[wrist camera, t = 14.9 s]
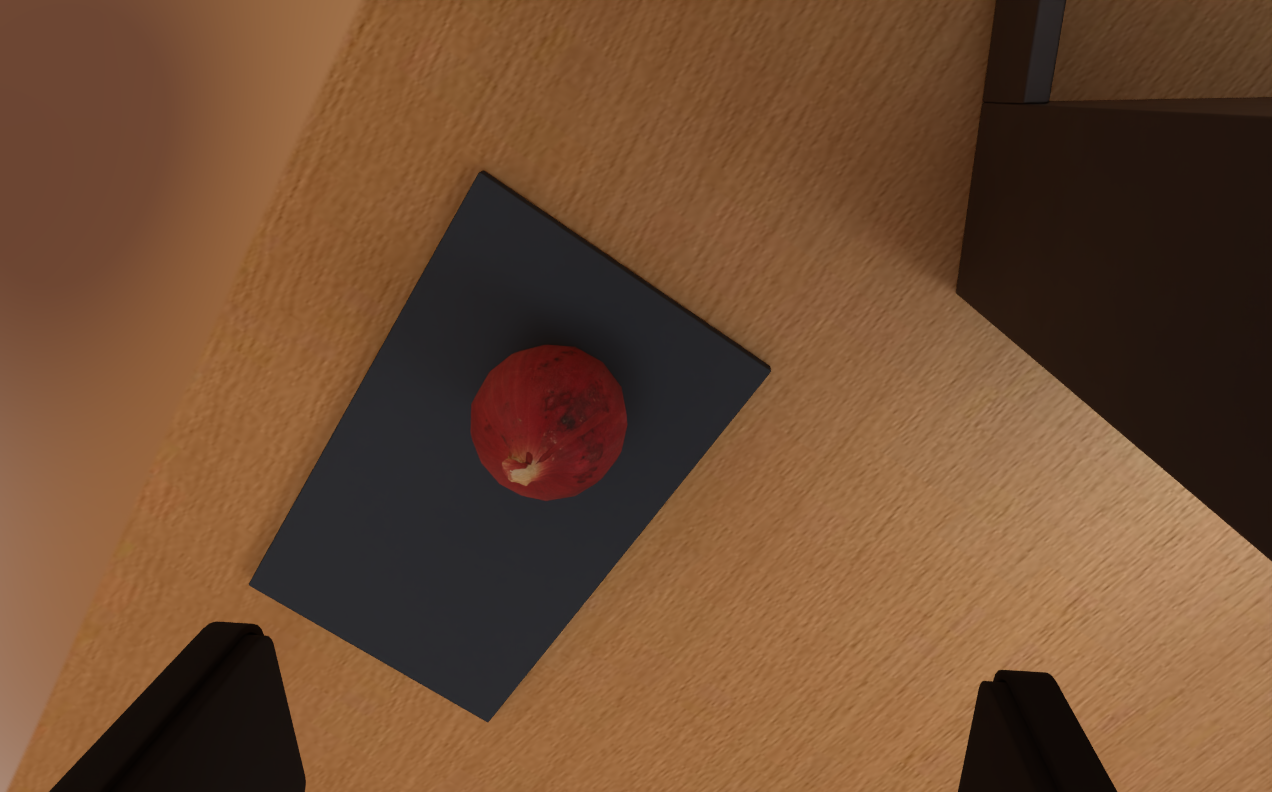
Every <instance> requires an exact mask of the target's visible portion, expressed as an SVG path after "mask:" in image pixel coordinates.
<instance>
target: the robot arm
mask: <svg viewBox="0 0 1272 792" xmlns="http://www.w3.org/2000/svg"><path fill="white" fill-rule="evenodd" d="M305 785H306V780H305V774H304V770H303V765H302V761H301V757H300V753H299V749H298V744H297V740H296V736H295V732H294V728H293V723H292V719H291V715H290V711H289V707H288V703H287V698H286V694H285V690H284V686H283V682H282V677H281V673H280V669H279V665H278V661H277V656H276V652H275V648H274V644H273V642H272V639H271V638H270V637H269V636H264V634H263V632H262V629H261V628H260V627H259V626H258V625H255V624H247V623H231V622H213V623H210V624H208V625H207V626H206V627H205V628H203V629H202V630H201V631H200V633H199V634H198V635H197V636H196V637H195V638H194V639H193V640H192V641H191V642H190V643H189V644H188V645H187V646H186V647H185V648H184V649H183V650H182V652H181V653H180V654H179V655H178V656H177V657H176V658H175V659H174V660H173V661H172V662H171V663H170V664H169V665H168V666H167V667H166V668H165V670H164V671H163V672H162V673H161V674H160V675H159V676H158V677H157V678H156V679H155V680H154V681H153V682H152V683H151V684H150V685H149V686H148V688H147V689H146V690H145V691H144V692H143V693H142V694H141V695H140V696H139V697H138V698H137V699H136V700H135V701H134V702H133V703H132V704H131V706H130V707H129V708H128V709H127V710H126V711H125V712H124V713H123V714H122V715H121V716H120V717H119V718H118V719H117V720H116V721H115V722H114V723H113V725H112V726H111V727H110V728H109V729H108V730H107V731H106V732H105V733H104V734H103V735H102V736H101V737H100V738H99V739H98V740H97V741H96V743H95V744H94V745H93V746H92V747H91V748H90V749H89V750H88V751H87V752H86V753H85V754H84V755H83V756H82V757H81V758H80V759H79V761H78V762H77V763H76V764H75V765H74V766H73V767H72V768H71V769H70V770H69V771H68V772H67V773H66V774H65V775H64V776H63V777H62V779H61V780H60V781H59V782H58V783H57V784H56V785H55V786H54V787H53V788H52V789H51V790H50V791H49V792H305ZM958 792H1117V790H1116V789H1115V787H1114V785H1113V783H1112V781H1111V780H1110V778H1109V776H1108V774H1107V772H1106V771H1105V769H1104V767H1103V765H1102V763H1101V762H1100V760H1099V758H1098V756H1097V754H1096V753H1095V751H1094V749H1093V747H1092V745H1091V744H1090V742H1089V740H1088V738H1087V736H1086V735H1085V733H1084V731H1083V729H1082V727H1081V726H1080V724H1079V722H1078V720H1077V718H1076V717H1075V715H1074V713H1073V711H1072V709H1071V708H1070V706H1069V704H1068V702H1067V700H1066V699H1065V697H1064V695H1063V693H1062V691H1061V689H1060V688H1059V686H1058V684H1057V682H1056V681H1055V679H1054V678H1053V677H1052V676H1051V675H1050V674H1048V673H1044V672H1028V671H1012V670H999V671H998V672H997V673H996V674H995V677H994V680H993V682H992V681H982V683H981V684H980V687H979V691H978V695H977V700H976V705H975V710H974V715H973V720H972V725H971V730H970V735H969V740H968V745H967V750H966V755H965V760H964V765H963V769H962V774H961V779H960V784H959V789H958Z"/></svg>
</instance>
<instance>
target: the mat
mask: <svg viewBox="0 0 1272 792" xmlns="http://www.w3.org/2000/svg"><path fill="white" fill-rule="evenodd" d="M542 345H558V346H570V347H576V348H578V349H580V350H582V351H583V352H585V353H587V354H589V355H591V356H593V357H594V358H596V359H598V360H600V361H602V362H603V363H604V365H605V366H606V367H607V369H608V370H609V371H610V373H611V374H612V375H613V377H614V378H615V379H616V381H617V382H618V383H619V385H620V386H621V388H622V393H623V398H624V404H625V409H626V414H627V428H626V433H625V438H624V442H623V447H622V451H621V453H620V455H619V456H618V458H617V460H616V461H615V462H614V464H613V465H612V466H611V468H610V469H609V470H608V471H607V473H606V474H605V475H604V477H603V478H602V479H601V480H600V481H598V482H597V483H596V484H594V485H593V486H591V487H589V488H588V489H586V490H584V491H583V492H581V493H579V494H578V495H576V496H573V497H567V498H561V499H555V500H549V501H544V500H540V499H535V498H530V497H526V496H521V495H519V494H517V493H516V492H514V491H512V490H510V489H508V488H506V487H505V486H503V485H501V484H499V483H498V482H497V480H496V479H495V478H494V477H493V476H492V475H491V473H490V472H489V471H488V470H487V469H486V468H485V467H484V465H483V464H482V463H481V461H480V458H479V456H478V453H477V451H476V448H475V446H474V443H473V441H472V437H471V404H472V402H473V400H474V398H475V396H476V394H477V393H478V391H479V389H480V387H481V386H482V384H483V382H484V380H485V379H486V377H487V375H488V374H489V372H490V371H491V370H492V369H494V368H495V367H496V366H498V365H499V364H500V363H501V362H503V361H504V360H505V359H506V358H508V357H509V356H510V355H511V354H514V353H516V352H519V351H522V350H526V349H530V348H534V347H538V346H542ZM770 372H771V368H770V366H769V365H767V364H766V363H764V362H763V361H761V360H760V359H759V358H757V357H756V356H754V355H753V354H751V353H750V352H748V351H747V350H745V349H744V348H742V347H741V346H740V345H738V344H737V343H735V342H734V341H732V340H731V339H729V338H728V337H726V336H725V335H723V334H722V333H721V332H719V331H718V330H716V329H715V328H713V327H712V326H710V325H709V324H707V323H706V322H704V321H703V320H702V319H700V318H699V317H697V316H696V315H694V314H693V313H691V312H690V311H688V310H687V309H685V308H684V307H683V306H681V305H680V304H678V303H677V302H675V301H674V300H672V299H671V298H669V297H668V296H666V295H665V294H664V293H662V292H661V291H659V290H658V289H656V288H655V287H653V286H652V285H650V284H649V283H647V282H646V281H645V280H643V279H642V278H640V277H639V276H637V275H636V274H634V273H633V272H631V271H630V270H628V269H627V268H626V267H624V266H623V265H621V264H620V263H618V262H617V261H615V260H614V259H612V258H611V257H609V256H608V255H607V254H605V253H604V252H602V251H601V250H599V249H598V248H596V247H595V246H593V245H592V244H590V243H589V242H588V241H586V240H585V239H583V238H582V237H580V236H579V235H577V234H576V233H574V232H573V231H571V230H570V229H569V228H567V227H566V226H564V225H563V224H561V223H560V222H558V221H557V220H555V219H554V218H552V217H551V216H550V215H548V214H547V213H545V212H544V211H542V210H541V209H539V208H538V207H536V206H535V205H533V204H532V203H531V202H529V201H528V200H526V199H525V198H523V197H522V196H520V195H519V194H517V193H516V192H514V191H513V190H512V189H510V188H509V187H507V186H506V185H504V184H503V183H501V182H500V181H498V180H497V179H495V178H494V177H492V176H491V175H490V174H488V173H487V172H485V171H481V172H479V173H478V175H477V177H476V179H475V180H474V182H473V184H472V186H471V188H470V189H469V191H468V193H467V195H466V197H465V198H464V200H463V202H462V204H461V205H460V207H459V209H458V211H457V213H456V214H455V216H454V218H453V220H452V222H451V223H450V225H449V227H448V229H447V231H446V232H445V234H444V236H443V238H442V239H441V241H440V243H439V245H438V247H437V248H436V250H435V252H434V254H433V256H432V257H431V259H430V261H429V263H428V264H427V266H426V268H425V270H424V272H423V273H422V275H421V277H420V279H419V281H418V282H417V284H416V286H415V288H414V290H413V291H412V293H411V295H410V297H409V298H408V300H407V302H406V304H405V306H404V307H403V309H402V311H401V313H400V315H399V316H398V318H397V320H396V322H395V323H394V325H393V327H392V329H391V331H390V332H389V334H388V336H387V338H386V340H385V341H384V343H383V345H382V347H381V349H380V350H379V352H378V354H377V356H376V357H375V359H374V361H373V363H372V365H371V366H370V368H369V370H368V372H367V374H366V375H365V377H364V379H363V381H362V383H361V384H360V386H359V388H358V390H357V391H356V393H355V395H354V397H353V399H352V400H351V402H350V404H349V406H348V408H347V409H346V411H345V413H344V415H343V416H342V418H341V420H340V422H339V424H338V425H337V427H336V429H335V431H334V433H333V434H332V436H331V438H330V440H329V442H328V443H327V445H326V447H325V449H324V450H323V452H322V454H321V456H320V458H319V459H318V461H317V463H316V465H315V467H314V468H313V470H312V472H311V474H310V475H309V477H308V479H307V481H306V483H305V484H304V486H303V488H302V490H301V492H300V493H299V495H298V497H297V499H296V501H295V502H294V504H293V506H292V508H291V509H290V511H289V513H288V515H287V517H286V518H285V520H284V522H283V524H282V526H281V527H280V529H279V531H278V533H277V534H276V536H275V538H274V540H273V542H272V543H271V545H270V547H269V549H268V551H267V552H266V554H265V556H264V558H263V560H262V561H261V563H260V565H259V567H258V568H257V570H256V572H255V574H254V576H253V577H252V579H251V581H250V583H249V586H251V587H253V588H255V589H256V590H258V591H260V592H262V593H263V594H265V595H267V596H269V597H270V598H272V599H274V600H276V601H277V602H279V603H281V604H282V605H284V606H286V607H288V608H289V609H291V610H293V611H295V612H296V613H298V614H300V615H302V616H303V617H305V618H307V619H309V620H310V621H312V622H314V623H316V624H317V625H319V626H321V627H323V628H324V629H326V630H328V631H329V632H331V633H333V634H335V635H336V636H338V637H340V638H342V639H343V640H345V641H347V642H349V643H350V644H352V645H354V646H356V647H357V648H359V649H361V650H363V651H364V652H366V653H368V654H370V655H371V656H373V657H375V658H376V659H378V660H380V661H382V662H383V663H385V664H387V665H389V666H390V667H392V668H394V669H396V670H397V671H399V672H401V673H403V674H404V675H406V676H408V677H410V678H411V679H413V680H415V681H417V682H418V683H420V684H422V685H424V686H425V687H427V688H429V689H430V690H432V691H434V692H436V693H437V694H439V695H441V696H443V697H444V698H446V699H448V700H450V701H451V702H453V703H455V704H457V705H458V706H460V707H462V708H464V709H465V710H467V711H469V712H471V713H472V714H474V715H476V716H477V717H479V718H481V719H483V720H484V721H486V722H489V721H490V720H491V718H492V717H493V716H494V715H495V713H496V712H497V711H498V710H499V708H500V707H501V706H502V705H503V703H504V702H505V701H506V700H507V698H508V697H509V696H510V695H511V694H512V692H513V691H514V690H515V689H516V687H517V686H518V685H519V684H520V682H521V681H522V680H523V679H524V677H525V676H526V675H527V674H528V672H529V671H530V670H531V669H532V667H533V666H534V665H535V664H536V662H537V661H538V660H539V659H540V658H541V656H542V655H543V654H544V653H545V651H546V650H547V649H548V648H549V646H550V645H551V644H552V643H553V641H554V640H555V639H556V638H557V636H558V635H559V634H560V633H561V631H562V630H563V629H564V628H565V627H566V625H567V624H568V623H569V622H570V620H571V619H572V618H573V617H574V615H575V614H576V613H577V612H578V610H579V609H580V608H581V607H582V605H583V604H584V603H585V602H586V600H587V599H588V598H589V597H590V596H591V594H592V593H593V592H594V591H595V589H596V588H597V587H598V586H599V584H600V583H601V582H602V581H603V579H604V578H605V577H606V576H607V574H608V573H609V572H610V571H611V569H612V568H613V567H614V566H615V564H616V563H617V562H618V561H619V560H620V558H621V557H622V556H623V555H624V553H625V552H626V551H627V550H628V548H629V547H630V546H631V545H632V543H633V542H634V541H635V540H636V538H637V537H638V536H639V535H640V533H641V532H642V531H643V530H644V529H645V527H646V526H647V525H648V524H649V522H650V521H651V520H652V519H653V517H654V516H655V515H656V514H657V512H658V511H659V510H660V509H661V507H662V506H663V505H664V504H665V502H666V501H667V500H668V499H669V497H670V496H671V495H672V494H673V493H674V491H675V490H676V489H677V488H678V486H679V485H680V484H681V483H682V481H683V480H684V479H685V478H686V476H687V475H688V474H689V473H690V471H691V470H692V469H693V468H694V466H695V465H696V464H697V463H698V462H699V460H700V459H701V458H702V457H703V455H704V454H705V453H706V452H707V450H708V449H709V448H710V447H711V445H712V444H713V443H714V442H715V440H716V439H717V438H718V437H719V435H720V434H721V433H722V432H723V431H724V429H725V428H726V427H727V426H728V424H729V423H730V422H731V421H732V419H733V418H734V417H735V416H736V414H737V413H738V412H739V411H740V409H741V408H742V407H743V406H744V404H745V403H746V402H747V401H748V399H749V398H750V397H751V396H752V395H753V393H754V392H755V391H756V390H757V388H758V387H759V386H760V385H761V383H762V382H763V381H764V380H765V378H766V377H767V376H768V375H769V373H770Z"/></svg>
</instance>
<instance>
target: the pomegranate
mask: <svg viewBox="0 0 1272 792" xmlns="http://www.w3.org/2000/svg"><path fill="white" fill-rule="evenodd" d="M626 428H627V414H626V409H625V404H624V398H623V393H622V388H621V386H620V385H619V383H618V382H617V381H616V379H615V378H614V377H613V375H612V374H611V373H610V371H609V370H608V369H607V367H606V366H605V365H604V363H603V362H602V361H600V360H598V359H596V358H594V357H593V356H591V355H589V354H587V353H585V352H583V351H582V350H580V349H578V348H576V347H570V346H558V345H542V346H538V347H534V348H530V349H526V350H522V351H519V352H516V353H514V354H511V355H510V356H509V357H508V358H506V359H505V360H504V361H503V362H501V363H500V364H499V365H498V366H496V367H495V368H494V369H492V370H491V371H490V372H489V374H488V375H487V377H486V379H485V380H484V382H483V384H482V386H481V387H480V389H479V391H478V393H477V394H476V396H475V398H474V400H473V402H472V404H471V437H472V441H473V443H474V446H475V448H476V451H477V453H478V456H479V458H480V461H481V463H482V464H483V465H484V467H485V468H486V469H487V470H488V471H489V472H490V473H491V475H492V476H493V477H494V478H495V479H496V480H497V482H498V483H499V484H501V485H503V486H505V487H506V488H508V489H510V490H512V491H514V492H516V493H517V494H519V495H521V496H526V497H530V498H535V499H540V500H544V501H549V500H555V499H561V498H567V497H573V496H576V495H578V494H579V493H581V492H583V491H584V490H586V489H588V488H589V487H591V486H593V485H594V484H596V483H597V482H598V481H600V480H601V479H602V478H603V477H604V475H605V474H606V473H607V471H608V470H609V469H610V468H611V466H612V465H613V464H614V462H615V461H616V460H617V458H618V456H619V455H620V453H621V451H622V447H623V442H624V438H625V433H626Z"/></svg>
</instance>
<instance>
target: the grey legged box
mask: <svg viewBox="0 0 1272 792" xmlns="http://www.w3.org/2000/svg"><path fill="white" fill-rule="evenodd" d="M1065 4H1066V0H997V1H996V8H995V15H994V22H993V29H992V37H991V44H990V51H989V58H988V66H987V73H986V80H985V87H984V95H983V102H984V103H983V104H982V108H981V115H980V122H979V130H978V137H977V144H976V151H975V159H974V166H973V173H972V180H971V188H970V195H969V202H968V209H967V217H966V224H965V231H964V238H963V245H962V253H961V260H960V267H959V274H958V282H957V289H956V294H958V295H959V296H960V297H961V298H962V299H964V300H965V301H966V302H967V303H968V304H969V305H971V306H972V307H973V308H974V309H975V310H977V311H978V312H979V313H980V314H981V315H982V316H984V317H985V318H986V319H987V320H988V321H989V322H991V323H992V324H993V325H994V326H995V327H997V328H998V329H999V330H1000V331H1001V332H1002V333H1004V334H1005V335H1006V336H1007V337H1008V338H1009V339H1011V340H1012V341H1013V342H1014V343H1015V344H1017V345H1018V346H1019V347H1020V348H1021V349H1022V350H1024V351H1025V352H1026V353H1027V354H1028V355H1029V356H1031V357H1032V358H1033V359H1034V360H1035V361H1037V362H1038V363H1039V364H1040V365H1041V366H1042V367H1044V368H1045V369H1046V370H1047V371H1048V372H1050V373H1051V374H1052V375H1053V376H1054V377H1055V378H1057V379H1058V380H1059V381H1060V382H1061V383H1062V384H1064V385H1065V386H1066V387H1067V388H1068V389H1070V390H1071V391H1072V392H1073V393H1074V394H1075V395H1077V396H1078V397H1079V398H1080V399H1081V400H1082V401H1084V402H1085V403H1086V404H1087V405H1088V406H1090V407H1091V408H1092V409H1093V410H1094V411H1095V412H1097V413H1098V414H1099V415H1100V416H1101V417H1102V418H1104V419H1105V420H1106V421H1107V422H1108V423H1110V424H1111V425H1112V426H1113V427H1114V428H1115V429H1117V430H1118V431H1119V432H1120V433H1121V434H1123V435H1124V436H1125V437H1126V438H1127V439H1128V440H1130V441H1131V442H1132V443H1133V444H1134V445H1135V446H1137V447H1138V448H1139V449H1140V450H1141V451H1143V452H1144V453H1145V454H1146V455H1147V456H1148V457H1150V458H1151V459H1152V460H1153V461H1154V462H1155V463H1157V464H1158V465H1159V466H1160V467H1161V468H1163V469H1164V470H1165V471H1166V472H1167V473H1168V474H1170V475H1171V476H1172V477H1173V478H1174V479H1176V480H1177V481H1178V482H1179V483H1180V484H1181V485H1183V486H1184V487H1185V488H1186V489H1187V490H1188V491H1190V492H1191V493H1192V494H1193V495H1194V496H1196V497H1197V498H1198V499H1199V500H1200V501H1201V502H1203V503H1204V504H1205V505H1206V506H1207V507H1208V508H1210V509H1211V510H1212V511H1213V512H1214V513H1216V514H1217V515H1218V516H1219V517H1220V518H1221V519H1223V520H1224V521H1225V522H1226V523H1227V524H1228V525H1230V526H1231V527H1232V528H1233V529H1234V530H1236V531H1237V532H1238V533H1239V534H1240V535H1241V536H1243V537H1244V538H1245V539H1246V540H1247V541H1249V542H1250V543H1251V544H1252V545H1253V546H1254V547H1256V548H1257V549H1258V550H1259V551H1260V552H1261V553H1263V554H1264V555H1265V556H1266V557H1267V558H1269V559H1270V560H1271V561H1272V97H1257V98H1201V99H1145V100H1089V101H1049V99H1050V93H1051V87H1052V82H1053V76H1054V70H1055V64H1056V58H1057V52H1058V46H1059V40H1060V34H1061V28H1062V22H1063V16H1064V10H1065Z"/></svg>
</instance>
